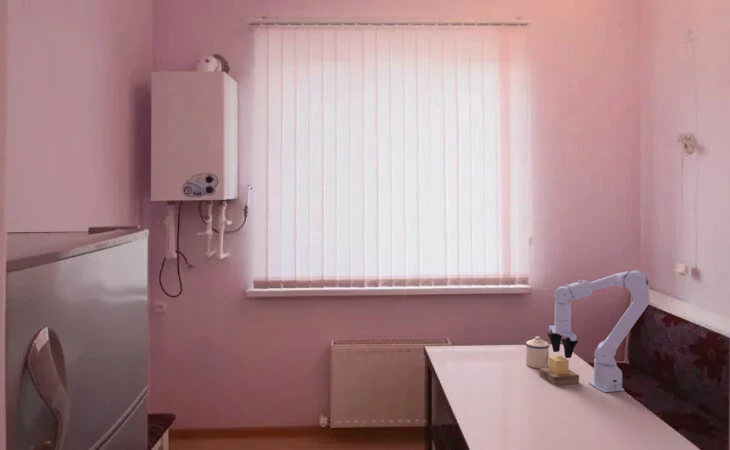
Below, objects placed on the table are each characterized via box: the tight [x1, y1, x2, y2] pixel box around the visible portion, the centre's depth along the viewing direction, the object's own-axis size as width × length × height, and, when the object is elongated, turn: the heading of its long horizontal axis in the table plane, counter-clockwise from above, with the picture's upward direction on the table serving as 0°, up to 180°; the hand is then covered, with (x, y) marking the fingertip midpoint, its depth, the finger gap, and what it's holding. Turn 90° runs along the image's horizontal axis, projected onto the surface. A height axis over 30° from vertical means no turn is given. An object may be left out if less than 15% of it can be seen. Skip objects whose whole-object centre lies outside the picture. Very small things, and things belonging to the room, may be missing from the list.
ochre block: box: [548, 355, 570, 375], centre depth 200 cm, size 5×5×5 cm
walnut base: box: [539, 367, 580, 386], centre depth 200 cm, size 10×10×3 cm
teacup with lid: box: [525, 336, 550, 369], centre depth 218 cm, size 12×9×12 cm
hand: (562, 354), depth 200 cm, fingers open, 7 cm apart
